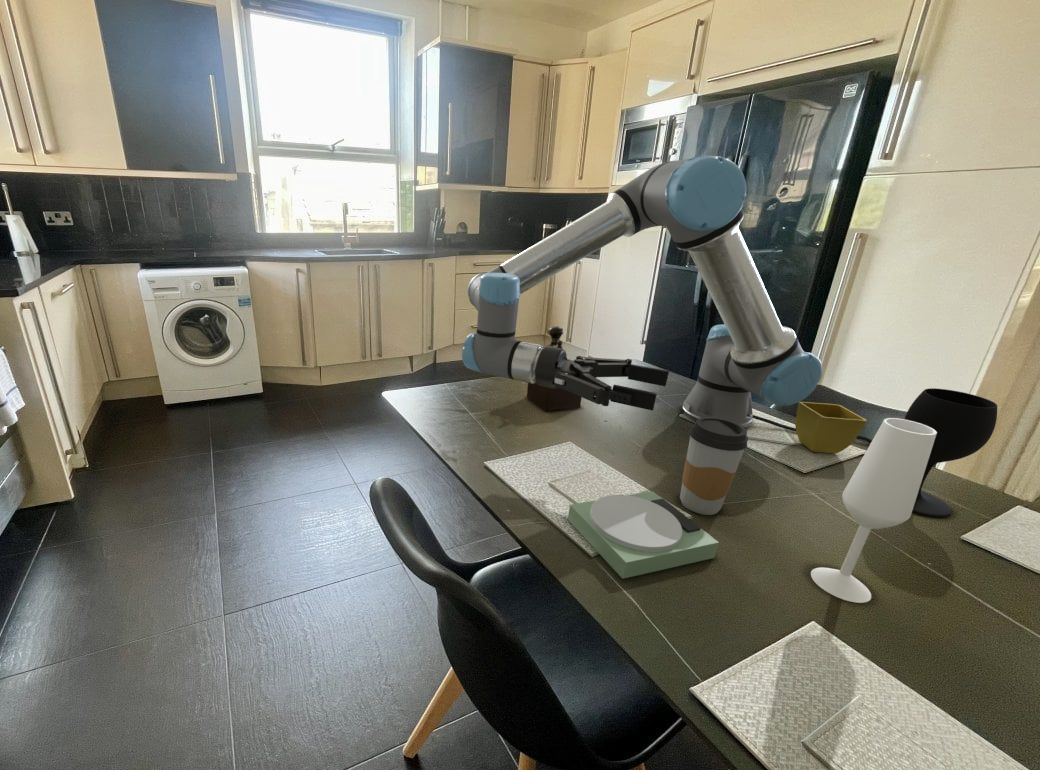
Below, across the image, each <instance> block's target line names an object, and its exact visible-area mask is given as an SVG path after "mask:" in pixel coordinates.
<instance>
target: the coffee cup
mask: <svg viewBox="0 0 1040 770" xmlns="http://www.w3.org/2000/svg"><path fill="white" fill-rule="evenodd" d="M747 435H748V431H747V428H744V427H743V426H741V425H739V424H737V423H735V422H732V421H729V420H726V419H721V418H715V417H702V418H699V419H697V420H696V421H695V423H693V425H692V426H691V429H690V430H689V441H688V442H689V443H688V448H687V454H686V456H685V462H684V468H683V474H682V479H681V483H682V484H681V488H680V494H679V499H680V503H681V504H682V506H683V507H685V508H686V509H687V510H690V511H691V512H693V513H696V514H699V515H704V516H712V515H716V514H718V512H719V511H721V509H722V508H723V505H724V502H725V499H726V498H727V495H728V493H729V491H730V488H731V486H732V483H733V480H734V478H735V476H736V474H737V471H738V467H739V464H740V461H741V460H742V457H743V454H744V452H745V449H747V448H748V441H749V437H748V436H747Z"/></svg>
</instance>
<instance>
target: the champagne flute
mask: <svg viewBox="0 0 1040 770" xmlns="http://www.w3.org/2000/svg"><path fill="white" fill-rule="evenodd" d="M904 419H905V418H899V417H898V418H896V417H887V418H884V419H883V420H882V423H881V424H880V426H879V428H878V430H877V431H876V432H875V435H874V436H873V438H872V439H871V440H872V442H871V444H870V443H869V446H868V448H867V449H866V451H865V452H864V454H863V456H862V458H861V460H860V462H859V463H858V465H857V467H856V469H855V470H854V472H853V474H852V476H851V478H850V479H849V481H848V483H847V484H846V486H845V488H844V490H843V491H842V494H841V495H842V496H841V499H842V502H843V504H844V506H845V509H846V511H847V512H848V513H849V515H850V516H851V517H852V518H853V520H854V521H855V522H856V523H857V524H859V526H858V527H857V530H856V532H855V535H854V537H853V540H852V542H851V544H850V547H849V548H848V551H847V553H846V555H845V558H844V561H843V563H842V565H841V566H840V569H836V568H831V567H823V566H821V567H816V568H813V569H812V570H811V571H810V576H811V579H812V581H813V582H814V583H815V584H816V585H817V586H818V587H819V588H821V589H822V590H823V591H825V592H826V593H828V594H829V595H832V596H834V597H835V598H838V599H841V600H843V601H847V602H852V603H857V604H863V603H865V604H866V603H868V602H870V601H871V600H872V593H871V591H870V590H869V588H868V587H867V586H866V585H865V584H864V583H862V582H861V581H860V580H859V579H857V578H856V577H855V576H854V575H852V573H853V571H854V568H855V566H856V564H857V562H858V560H859V557H860V556H861V553H862V550H863V548H864V547H865V545H866V541H867V539H868V537H869V535H870V533H871V530H879V529H880V530H881V529H886V528H892V527H895V526H898V525H902V524H903V523H905V522H907V521H908V520H909V519H910V518H911V516H912V514H913V513H912V510H913V507H914V504H915V501H916V497H917V494H918V491H919V488H920V485H921V482H922V478H923V475H924V472H925V469H926V466H927V463H928V459H929V456H930V453H931V450H932V447H933V444H934V440H935V437H936V434H937V432H936V431H935V430H934V429H933V428H931V427H929V426H926V425H923V424H921V423H917V422H914V421H909V420H904Z"/></svg>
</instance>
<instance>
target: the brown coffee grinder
mask: <svg viewBox="0 0 1040 770" xmlns="http://www.w3.org/2000/svg"><path fill="white" fill-rule="evenodd" d="M563 334H564V329H563V328H562V327H561V326H557V325H556V326H552V327H550V328H549V329H548V335H549V336H550V338H551V339H550V342H549V343H550V344H547V345H546V346H550V347H556V348H561V349H563V343H564V342H563V341H562V340H561V337H562V335H563ZM568 360H571V359H570V358H569V359H568ZM526 398H527V399H528V400H529V401H530V402H531V403H533V404H534V405H535V406H537V408H540V409H541V410H543V411H544V412H545V413H547V412H549V413H550V412H559V411H568V410H575V409H580V408H581V407H582V406H581V404H582V399H583V398H582V397H580V396H578V395H575V394H573V393H571V392H569V391H566V390H564V389H560V388H555V389H553V388H548V387H544V386H539V385H538V384H537V383H534V384H532V383H527V390H526Z"/></svg>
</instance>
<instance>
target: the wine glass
mask: <svg viewBox="0 0 1040 770" xmlns="http://www.w3.org/2000/svg"><path fill="white" fill-rule="evenodd" d="M903 419H904V420H909V421H914V422H917V423H921V424H923V425H926V426H929V427H931V428H933V429H934V430H935V431H936V432H937V434H936V437H935V440H934V444H933V447H932V450H931V453H930V456H929V459H928V463H927V466H926V469H925V472H924V475H923V478H922V482H921V485H920V488H919V491H918V494H917V497H916V501H915V504H914V507H913V510H912V513H911V514H915V515H919V516H924V517H930V518H947V517H949V516H950V515H951V514H952V509H951V507H950V505H948V504H947V503H946V502H945V501H943V500H942V499H940V498H938V497H936V496H935V495H932V494H931V493H928V492H925V491H923V490H922V488H923V486H924V483H925V480H926V479H927V477H928V475H929V473H930V472H931V470H932V469H933V467H934V466H935V465H937V464H940V463H945V462H946V463H947V462H952V461H957V460H961V459H965V458H966V457H969V456H971V455H973V454H975V453H977V452H978V451H979V450H981V449H982V448H983V447H984V446H985V445H986V444H987V443H988V442H989V441H990V438H991V437H992V435H993V433H994V431H995V427H996V424H997V420H998V404H997V403H996V402H995V401H992V400H990V399H987V398H985V397H982V396H979V395H975V394H971V393H968V392H965V391H964V392H963V391H958V390H952V389H947V388H946V389H945V388H934V387H933V388H931V387H930V388H925V389H924V390H922V392H920V394H919V395H918V396H917V397H915V399H914V400H913V402H912V403H911V404H910V406H909V408H908V410H907V411H906V413H905V416H904V418H903Z"/></svg>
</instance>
